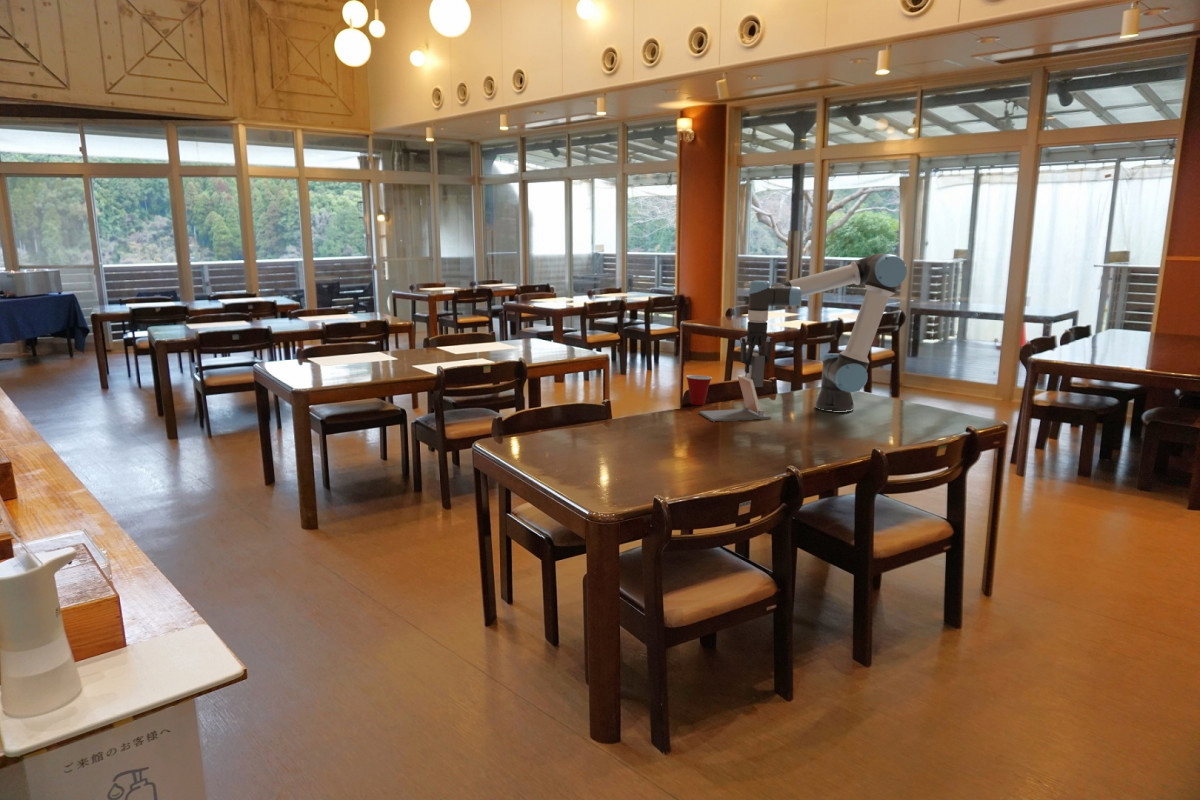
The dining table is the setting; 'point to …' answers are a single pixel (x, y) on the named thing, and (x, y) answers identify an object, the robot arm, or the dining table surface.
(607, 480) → the dining table surface
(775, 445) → the dining table surface
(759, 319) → the robot arm
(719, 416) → the tile mat
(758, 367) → the gray rectangular block
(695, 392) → the plastic cup
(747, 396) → the tile
